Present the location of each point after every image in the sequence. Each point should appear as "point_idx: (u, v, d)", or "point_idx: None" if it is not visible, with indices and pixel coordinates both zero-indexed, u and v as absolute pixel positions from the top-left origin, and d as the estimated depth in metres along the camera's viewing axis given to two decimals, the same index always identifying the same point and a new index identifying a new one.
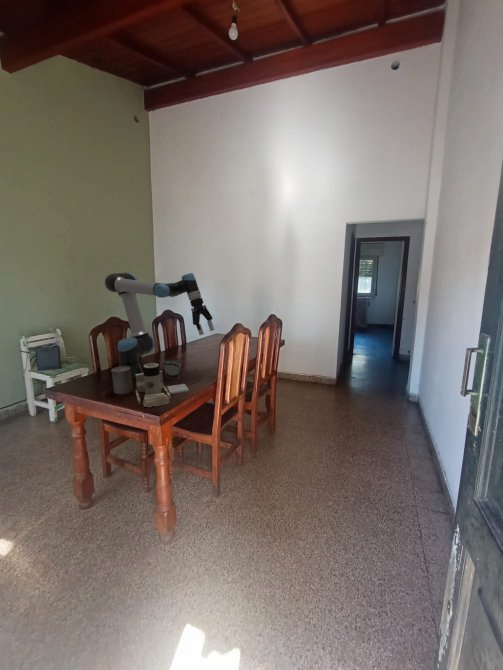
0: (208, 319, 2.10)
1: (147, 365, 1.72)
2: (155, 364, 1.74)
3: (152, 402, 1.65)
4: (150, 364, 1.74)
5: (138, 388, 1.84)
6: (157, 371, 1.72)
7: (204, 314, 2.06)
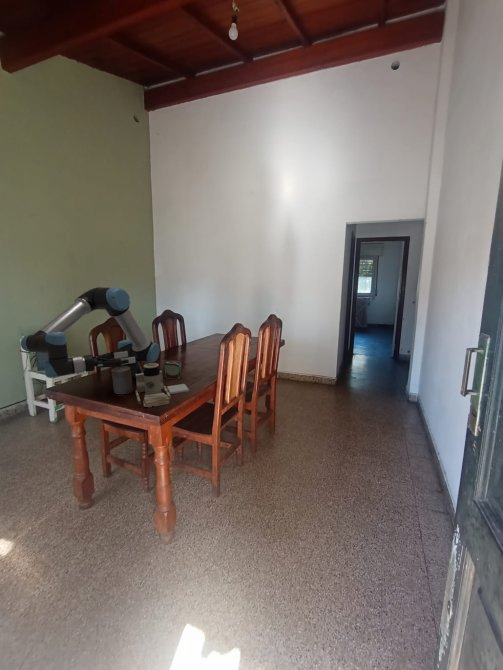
0: None
1: (147, 365, 1.72)
2: (155, 364, 1.74)
3: (152, 402, 1.65)
4: (150, 364, 1.74)
5: (138, 388, 1.84)
6: (157, 371, 1.72)
7: None
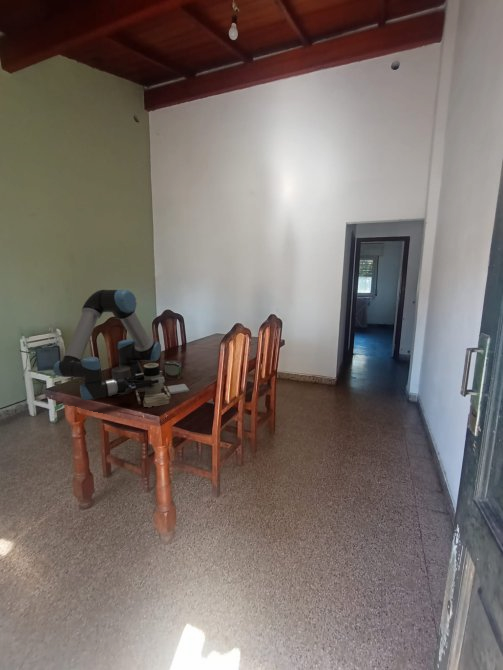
0: None
1: (147, 365, 1.72)
2: (155, 364, 1.74)
3: (152, 402, 1.65)
4: (150, 364, 1.74)
5: None
6: (157, 371, 1.72)
7: None
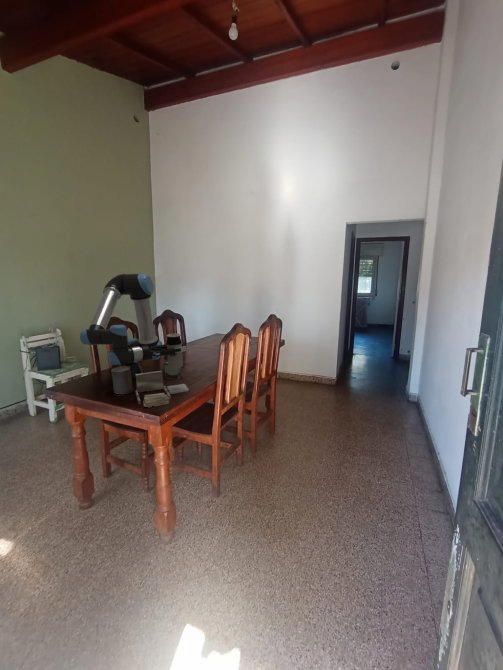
0: None
1: (170, 335, 1.81)
2: (177, 334, 1.82)
3: (152, 402, 1.65)
4: (172, 334, 1.82)
5: (138, 388, 1.84)
6: (179, 340, 1.80)
7: None
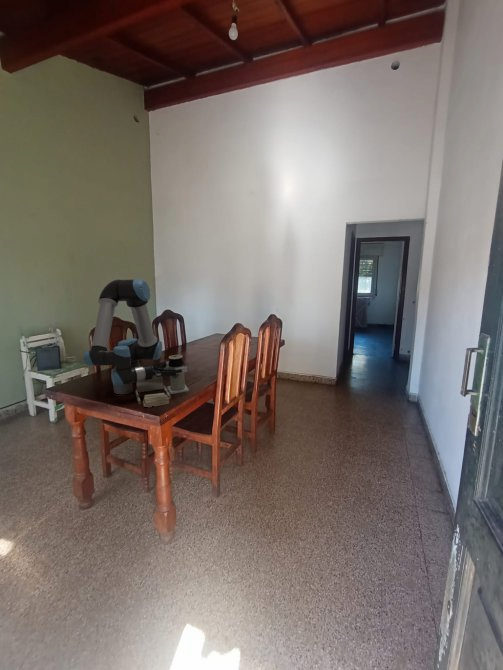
0: None
1: (172, 356, 1.84)
2: (179, 356, 1.85)
3: (152, 402, 1.65)
4: (174, 356, 1.86)
5: (138, 388, 1.84)
6: (181, 362, 1.83)
7: None
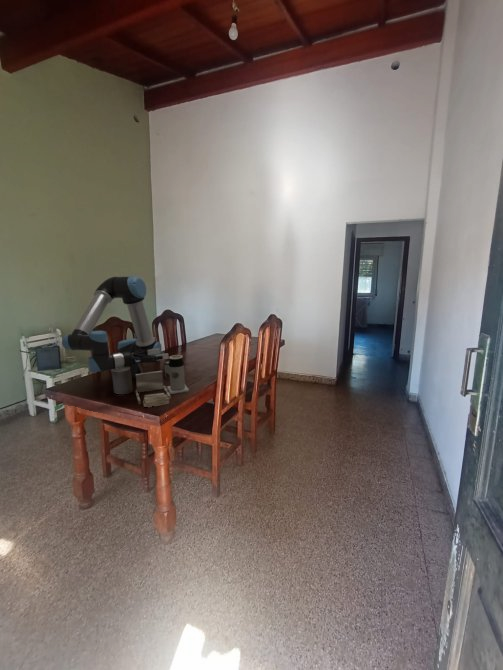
0: None
1: (172, 357, 1.84)
2: (179, 356, 1.85)
3: (152, 402, 1.65)
4: (174, 356, 1.85)
5: (138, 388, 1.84)
6: (181, 362, 1.83)
7: None
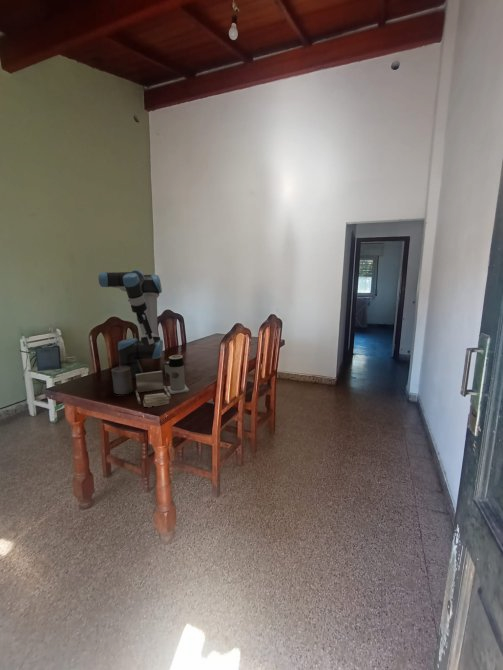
0: None
1: (172, 357, 1.84)
2: (179, 356, 1.85)
3: (152, 402, 1.65)
4: (175, 356, 1.85)
5: (138, 388, 1.84)
6: (181, 362, 1.83)
7: None
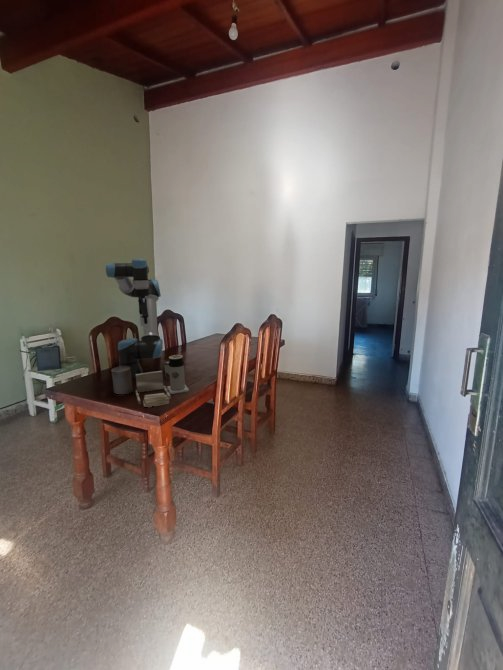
0: None
1: (172, 357, 1.84)
2: (179, 356, 1.85)
3: (152, 402, 1.65)
4: (174, 356, 1.85)
5: (138, 388, 1.84)
6: (181, 362, 1.83)
7: None
